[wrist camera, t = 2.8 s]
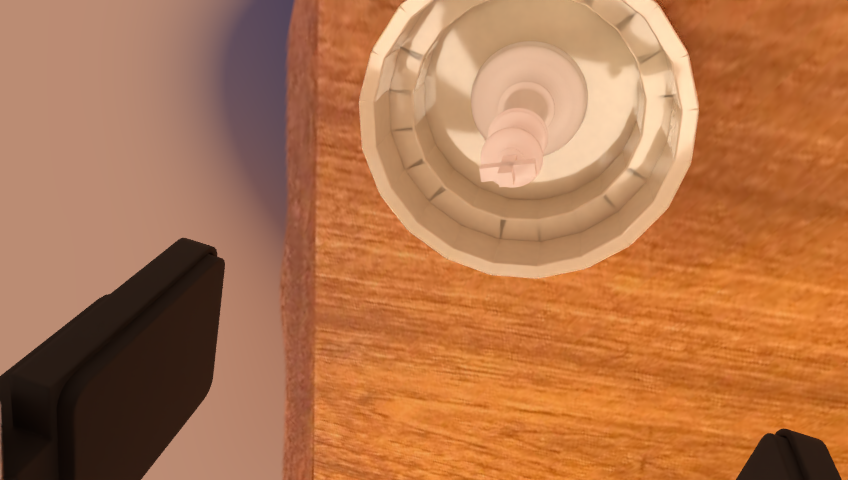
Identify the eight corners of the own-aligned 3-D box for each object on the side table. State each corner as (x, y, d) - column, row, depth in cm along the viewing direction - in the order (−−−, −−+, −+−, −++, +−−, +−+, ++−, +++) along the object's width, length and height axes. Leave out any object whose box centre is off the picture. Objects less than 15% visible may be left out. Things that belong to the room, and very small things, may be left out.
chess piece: (592, 149, 29) (597, 248, 20) (480, 160, 31) (438, 259, 22) (582, 32, 27) (583, 86, 19) (463, 50, 29) (410, 108, 20)
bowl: (363, 176, 32) (329, 216, 28) (436, -98, 27) (408, -101, 22) (607, 263, 32) (611, 319, 27) (734, 2, 26) (766, 18, 22)
